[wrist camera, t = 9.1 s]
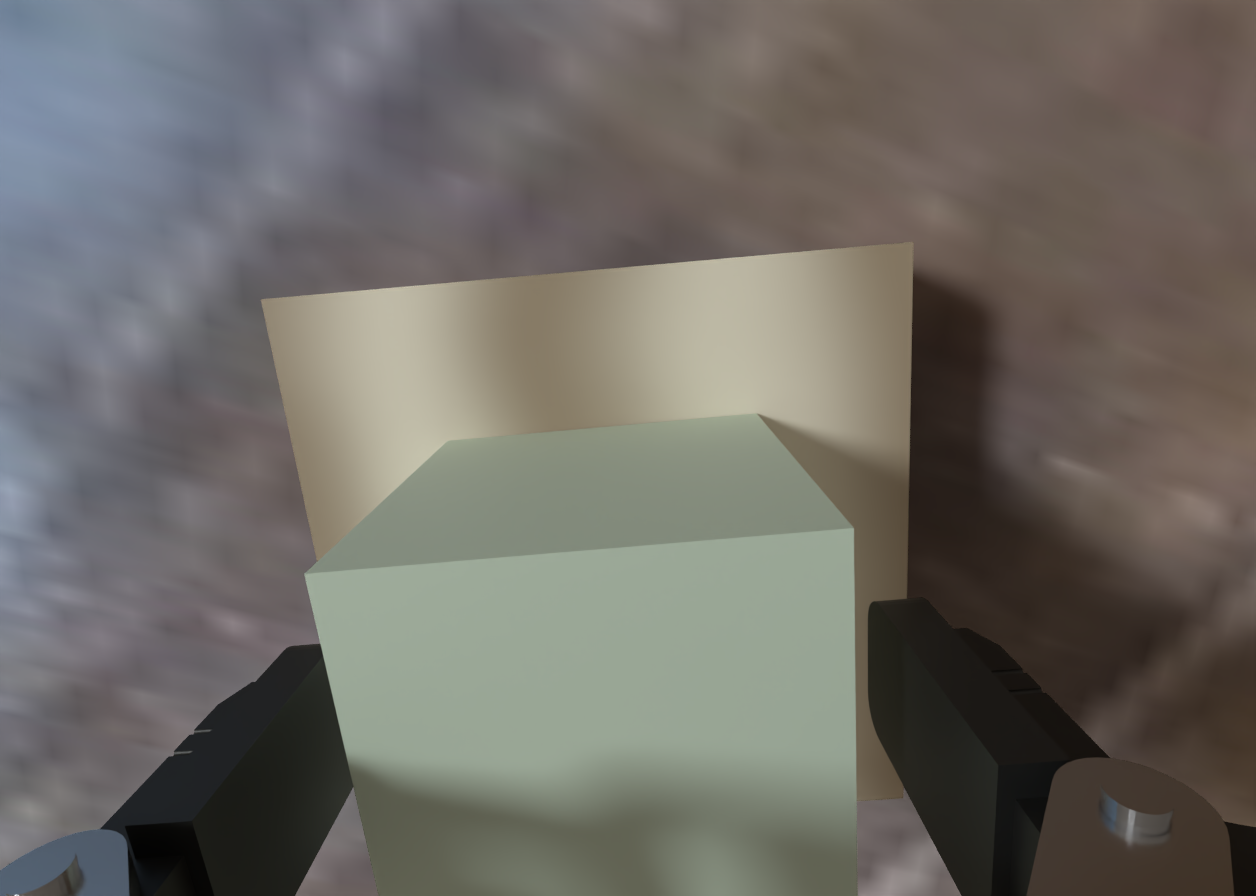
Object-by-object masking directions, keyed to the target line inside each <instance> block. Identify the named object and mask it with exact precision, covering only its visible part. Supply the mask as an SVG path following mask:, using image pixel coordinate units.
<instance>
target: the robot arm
mask: <svg viewBox="0 0 1256 896" xmlns="http://www.w3.org/2000/svg"><path fill="white" fill-rule="evenodd" d="M868 701H869V708H870V714H871V718H872V722H873V725H874V728H875V731H876V734H877V736H878V738H879V740H880V742H881V744H882V746H883V748H884V750H885V752H886V754H887V756H888V757H889V759H890V761H891V763H892V765H893V767H894V769H895V771H896V773H897V774H898V776H899V778H900V780H901V782H902V784H903V786H904V788H905V790H906V791H907V793H908V795H909V797H910V799H911V801H912V803H913V805H914V807H915V808H916V810H917V812H918V814H919V816H920V818H921V820H922V822H923V824H924V825H925V827H926V829H927V831H928V833H929V835H930V837H931V839H932V841H933V843H934V844H935V846H936V848H937V850H938V852H939V854H940V856H941V858H942V860H943V861H944V863H945V865H946V867H947V869H948V871H949V873H950V875H951V877H952V878H953V880H954V882H955V884H956V886H957V888H958V890H959V892H960V894H961V895H962V896H1256V827H1250V826H1244V825H1238V824H1233V823H1228V822H1224V821H1223V819H1222V818H1221V816H1220V815H1219V814H1218V812H1217V811H1216V810H1215V809H1214V808H1213V807H1212V806H1211V805H1210V804H1209V803H1208V802H1207V801H1206V800H1205V799H1204V798H1203V797H1202V796H1200V795H1199V794H1198V793H1196V792H1195V791H1194V790H1192V789H1191V788H1189V787H1188V786H1186V785H1184V784H1183V783H1181V782H1180V781H1178V780H1176V779H1174V778H1172V777H1170V776H1168V775H1166V774H1164V773H1161V772H1159V771H1157V770H1154V769H1152V768H1149V767H1146V766H1143V765H1140V764H1136V763H1132V762H1128V761H1125V760H1119V759H1112V758H1110V757H1109V756H1108V755H1107V754H1106V753H1105V752H1104V751H1103V750H1102V749H1101V748H1100V747H1099V746H1098V745H1097V744H1096V743H1095V742H1094V741H1093V740H1092V739H1091V738H1090V737H1089V736H1088V735H1087V734H1086V733H1085V732H1084V731H1083V730H1082V729H1081V728H1080V727H1079V726H1078V725H1077V724H1076V723H1075V722H1074V721H1073V720H1072V719H1071V718H1070V717H1069V716H1068V715H1067V714H1066V713H1065V712H1064V711H1063V710H1062V709H1061V708H1060V707H1059V705H1058V704H1057V703H1056V702H1055V701H1054V700H1053V699H1052V698H1051V697H1050V696H1049V695H1048V694H1047V693H1042V691H1041V687H1040V686H1039V685H1038V684H1037V683H1036V682H1035V681H1034V680H1033V679H1032V678H1031V677H1030V676H1029V675H1028V674H1027V673H1023V671H1022V668H1021V667H1020V666H1019V665H1018V664H1017V663H1016V662H1015V661H1014V660H1013V659H1012V658H1011V657H1010V656H1009V655H1008V654H1007V653H1006V652H1005V650H1004V649H1003V648H1002V647H1001V646H999V645H997V644H996V643H994V642H992V641H990V640H988V639H986V638H984V637H983V636H981V635H979V634H977V633H975V632H973V631H972V630H970V629H968V628H961V629H953V628H952V627H951V626H950V625H949V624H948V623H947V622H946V621H945V619H944V618H943V617H942V616H941V615H940V614H939V613H938V612H937V610H936V609H935V608H934V607H933V606H932V605H931V604H930V603H929V602H928V601H927V600H926V599H925V598H910V599H897V600H884V601H873V602H872V603H871V604H870V606H869V610H868ZM352 788H353V783H352V778H351V774H350V770H349V765H348V761H347V757H346V752H345V748H344V744H343V739H342V735H341V731H340V726H339V722H338V718H337V713H336V709H335V705H334V700H333V696H332V692H331V687H330V683H329V679H328V674H327V670H326V666H325V661H324V657H323V653H322V648H321V644H312V645H299V646H290V647H288V648H286V649H285V650H284V651H283V652H282V653H281V654H280V656H279V657H278V658H277V659H276V660H275V661H274V662H273V663H272V664H271V665H270V667H269V668H268V669H267V670H266V671H265V672H264V673H263V674H262V675H261V676H260V678H259V679H258V680H257V681H256V682H252V683H250V684H249V685H247V686H246V687H244V688H242V689H241V690H239V691H238V692H236V693H235V694H233V695H232V696H230V697H229V698H227V699H226V700H224V701H223V702H221V703H220V704H218V705H217V706H216V707H215V708H214V710H213V711H212V712H211V713H210V714H209V715H208V716H207V717H206V718H205V719H204V720H203V721H202V722H201V723H200V724H199V725H198V726H197V727H196V729H195V730H194V735H189V736H188V737H187V738H186V739H185V740H184V741H183V742H182V743H181V744H180V745H179V746H178V747H177V749H176V750H175V751H174V756H171V757H168V758H167V759H166V760H165V761H164V762H163V763H162V764H161V765H160V766H159V768H158V769H157V770H156V771H155V772H154V773H153V774H152V775H151V776H150V777H149V778H148V779H147V780H146V781H145V782H144V783H143V784H142V785H141V786H140V788H139V789H138V790H137V791H136V792H135V793H134V794H133V795H132V796H131V797H130V798H129V799H128V800H127V801H126V802H125V803H124V804H123V805H122V807H121V808H120V809H119V810H118V811H117V812H116V813H115V814H114V815H113V816H112V817H111V818H110V819H109V820H108V821H107V822H106V823H105V824H104V825H103V827H102V828H101V829H98V830H88V831H84V832H79V833H75V834H72V835H68V836H65V837H62V838H60V839H57V840H54V841H52V842H49V843H47V844H45V845H43V846H41V847H39V848H36V849H34V850H33V851H31V852H29V853H27V854H25V855H24V856H22V857H20V858H18V859H17V860H15V861H14V862H12V863H11V864H9V865H7V866H6V867H5V868H3V869H2V870H0V896H295V894H296V892H297V891H298V889H299V887H300V885H301V883H302V881H303V879H304V878H305V876H306V874H307V872H308V870H309V868H310V866H311V865H312V863H313V861H314V859H315V857H316V855H317V853H318V851H319V850H320V848H321V846H322V844H323V842H324V840H325V838H326V837H327V835H328V833H329V831H330V829H331V827H332V825H333V824H334V822H335V820H336V818H337V816H338V814H339V812H340V810H341V809H342V807H343V805H344V803H345V801H346V799H347V797H348V796H349V794H350V792H351V790H352Z"/></svg>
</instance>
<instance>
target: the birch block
mask: <svg viewBox="0 0 1256 896" xmlns="http://www.w3.org/2000/svg"><path fill="white" fill-rule="evenodd" d="M913 243H914V242H908V243H896V244H885V245H874V246H862V247H851V248H840V249H828V250H817V251H806V252H794V253H783V254H771V255H760V256H749V257H737V258H726V259H715V260H703V261H692V262H681V263H669V264H658V265H647V266H635V267H624V268H613V269H601V270H590V271H579V272H567V273H556V274H545V275H533V276H522V277H511V278H499V279H488V280H477V281H465V282H454V283H443V284H431V285H420V286H409V287H397V288H386V289H375V290H363V291H352V292H340V293H329V294H318V295H306V296H295V297H284V298H272V299H261V302H262V307H263V311H264V316H265V321H266V325H267V330H268V335H269V339H270V344H271V349H272V353H273V358H274V363H275V367H276V372H277V377H278V381H279V386H280V391H281V395H282V400H283V405H284V409H285V414H286V419H287V423H288V428H289V432H290V437H291V442H292V446H293V451H294V456H295V460H296V465H297V470H298V474H299V479H300V484H301V488H302V493H303V498H304V502H305V507H306V512H307V516H308V521H309V526H310V530H311V535H312V540H313V544H314V549H315V554H316V558H317V562H318V561H319V560H320V559H321V558H322V557H323V556H324V555H325V554H326V553H327V552H328V551H329V550H331V549H332V548H333V547H334V546H335V545H336V544H337V543H338V542H339V541H340V540H341V539H342V538H344V537H345V536H346V535H347V534H348V533H349V532H350V531H351V530H352V529H353V528H354V527H355V526H356V525H358V524H359V523H360V522H361V521H362V520H363V519H364V518H365V517H366V516H367V515H368V514H369V513H370V512H372V511H373V510H374V509H375V508H376V507H377V506H378V505H379V504H380V503H381V502H382V501H383V500H384V499H386V498H387V497H388V496H389V495H390V494H391V493H392V492H393V491H394V490H395V489H396V488H397V487H399V486H400V485H401V484H402V483H403V482H404V481H405V480H406V479H407V478H408V477H409V476H410V475H411V474H413V473H414V472H415V471H416V470H417V469H418V468H419V467H420V466H421V465H422V464H423V463H424V462H425V461H427V460H428V459H429V458H430V457H431V456H432V455H433V454H434V453H435V452H436V451H437V450H438V449H439V448H441V447H442V446H443V445H444V444H445V443H446V442H447V441H451V440H462V439H474V438H485V437H496V436H507V435H519V434H530V433H541V432H552V431H564V430H575V429H586V428H597V427H609V426H620V425H631V424H642V423H653V422H665V421H676V420H687V419H698V418H710V417H721V416H732V415H743V414H755V413H757V415H758V416H759V417H760V418H761V419H762V420H763V422H764V423H765V424H766V425H767V426H768V428H769V429H770V430H771V431H772V432H773V433H774V435H775V436H776V437H777V438H778V439H779V440H780V442H781V443H782V444H783V445H784V446H785V448H786V449H787V450H788V451H789V452H790V453H791V455H792V456H793V457H794V458H795V459H796V460H797V462H798V463H799V464H800V465H801V466H802V468H803V469H804V470H805V471H806V472H807V473H808V475H809V476H810V477H811V478H812V479H813V481H814V482H815V483H816V484H817V485H818V486H819V488H820V489H821V490H822V491H823V492H824V493H825V495H826V496H827V497H828V498H829V499H830V501H831V502H832V503H833V504H834V505H835V506H836V508H837V509H838V510H839V511H840V512H841V513H842V515H843V516H844V517H845V518H846V519H847V521H848V522H849V523H850V524H851V525H852V526H853V528H854V592H855V692H856V793H857V801H868V800H882V799H897V798H903V784H902V782H901V780H900V778H899V776H898V774H897V773H896V771H895V769H894V767H893V765H892V763H891V761H890V759H889V757H888V756H887V754H886V752H885V750H884V748H883V746H882V744H881V742H880V740H879V738H878V736H877V734H876V731H875V728H874V725H873V722H872V718H871V714H870V708H869V701H868V610H869V606H870V604H871V603H872V602H873V601H884V600H897V599H907V568H908V514H909V460H910V405H911V351H912V297H913Z"/></svg>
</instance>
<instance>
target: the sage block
mask: <svg viewBox="0 0 1256 896" xmlns="http://www.w3.org/2000/svg"><path fill="white" fill-rule="evenodd" d="M304 575H305V579H306V583H307V588H308V592H309V596H310V601H311V605H312V609H313V614H314V618H315V622H316V627H317V631H318V635H319V640H320V644H321V648H322V653H323V657H324V661H325V666H326V670H327V674H328V679H329V683H330V687H331V692H332V696H333V700H334V705H335V709H336V713H337V718H338V722H339V726H340V731H341V735H342V739H343V744H344V748H345V752H346V757H347V761H348V765H349V770H350V774H351V778H352V783H353V787H354V791H355V796H356V800H357V804H358V809H359V813H360V817H361V822H362V826H363V830H364V835H365V839H366V843H367V848H368V852H369V856H370V861H371V865H372V869H373V874H374V878H375V882H376V887H377V891H378V895H379V896H858V894H857V793H856V692H855V592H854V528H853V526H852V525H851V524H850V523H849V522H848V521H847V519H846V518H845V517H844V516H843V515H842V513H841V512H840V511H839V510H838V509H837V508H836V506H835V505H834V504H833V503H832V502H831V501H830V499H829V498H828V497H827V496H826V495H825V493H824V492H823V491H822V490H821V489H820V488H819V486H818V485H817V484H816V483H815V482H814V481H813V479H812V478H811V477H810V476H809V475H808V473H807V472H806V471H805V470H804V469H803V468H802V466H801V465H800V464H799V463H798V462H797V460H796V459H795V458H794V457H793V456H792V455H791V453H790V452H789V451H788V450H787V449H786V448H785V446H784V445H783V444H782V443H781V442H780V440H779V439H778V438H777V437H776V436H775V435H774V433H773V432H772V431H771V430H770V429H769V428H768V426H767V425H766V424H765V423H764V422H763V420H762V419H761V418H760V417H759V416H758V415H757V413H755V414H743V415H732V416H721V417H710V418H698V419H687V420H676V421H665V422H653V423H642V424H631V425H620V426H609V427H597V428H586V429H575V430H564V431H552V432H541V433H530V434H519V435H507V436H496V437H485V438H474V439H462V440H451V441H447V442H446V443H445V444H444V445H443V446H442V447H441V448H439V449H438V450H437V451H436V452H435V453H434V454H433V455H432V456H431V457H430V458H429V459H428V460H427V461H425V462H424V463H423V464H422V465H421V466H420V467H419V468H418V469H417V470H416V471H415V472H414V473H413V474H411V475H410V476H409V477H408V478H407V479H406V480H405V481H404V482H403V483H402V484H401V485H400V486H399V487H397V488H396V489H395V490H394V491H393V492H392V493H391V494H390V495H389V496H388V497H387V498H386V499H384V500H383V501H382V502H381V503H380V504H379V505H378V506H377V507H376V508H375V509H374V510H373V511H372V512H370V513H369V514H368V515H367V516H366V517H365V518H364V519H363V520H362V521H361V522H360V523H359V524H358V525H356V526H355V527H354V528H353V529H352V530H351V531H350V532H349V533H348V534H347V535H346V536H345V537H344V538H342V539H341V540H340V541H339V542H338V543H337V544H336V545H335V546H334V547H333V548H332V549H331V550H329V551H328V552H327V553H326V554H325V555H324V556H323V557H322V558H321V559H320V560H319V561H318V562H317V563H315V564H314V565H313V566H312V567H311V568H310V569H309V570H308V571H307V572H306V573H305V574H304Z"/></svg>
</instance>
